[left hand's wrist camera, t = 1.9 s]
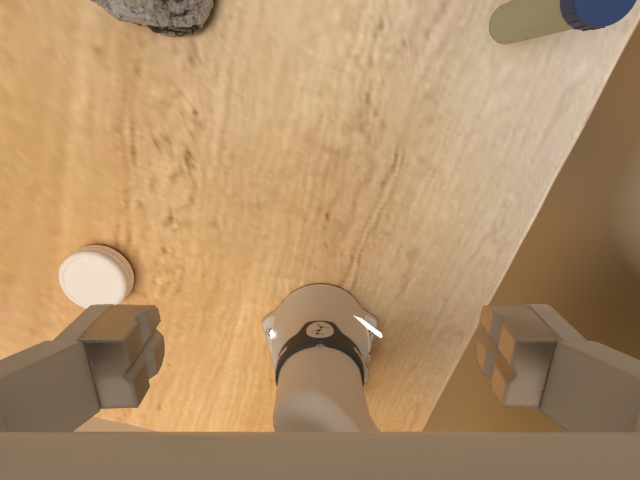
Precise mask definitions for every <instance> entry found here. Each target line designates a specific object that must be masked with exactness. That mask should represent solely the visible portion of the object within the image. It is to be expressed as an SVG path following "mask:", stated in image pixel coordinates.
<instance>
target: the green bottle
mask: <svg viewBox="0 0 640 480" xmlns="http://www.w3.org/2000/svg"><path fill="white" fill-rule="evenodd" d="M489 29H490V34H491V36H492V37H493V39H494V40H495V41H497V42H498V43H501V44H508V43H513V42H517V41H522V40H526V39H530V38H535V37H539V36H544V35H548V34H553V33H557V32H562V31H566V30H570V29H574V28H573V27H571V26H570V25H567V23H566V22H565V20H564V19H563V18H562V14H561V11H560V0H512V1H510V2H508V3H506V4H503V5H501V6H500V7H499V8H497V9H496V11H495V12H494V13H493V15H492V17H491V19H490V24H489Z"/></svg>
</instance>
